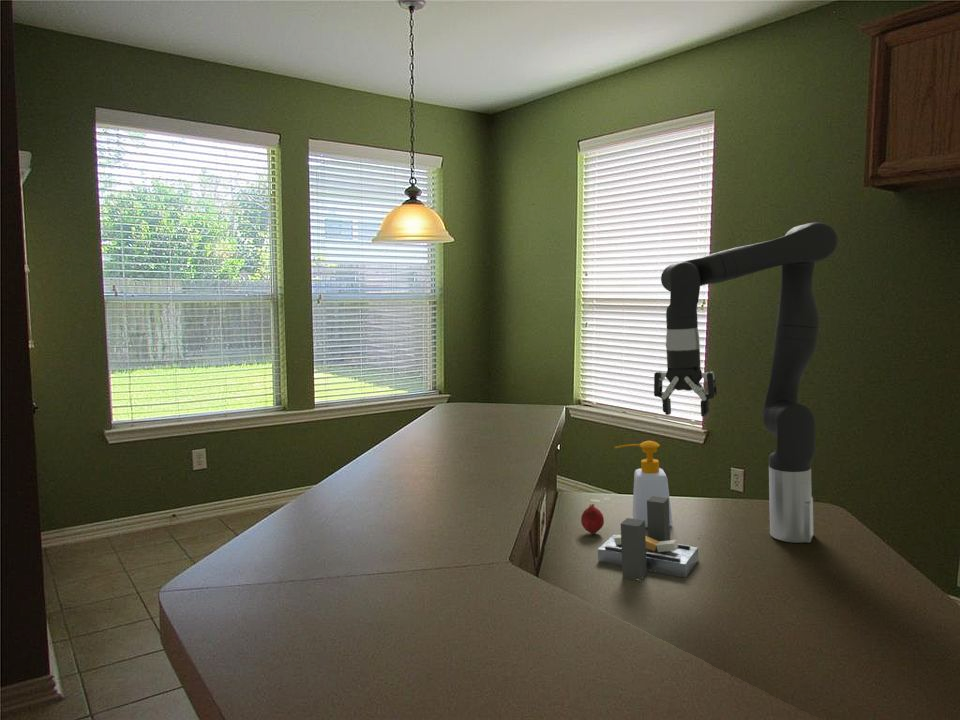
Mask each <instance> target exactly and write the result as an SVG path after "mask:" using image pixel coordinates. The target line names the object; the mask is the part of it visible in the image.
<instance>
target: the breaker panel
mask: <svg viewBox="0 0 960 720" xmlns="http://www.w3.org/2000/svg"><path fill="white" fill-rule="evenodd" d="M617 535H621V533H620V534H619V533H618V534H613V535H611V537H609V538H608V539H607V540H606V541H605V542H604V543H603V544H602V545H600V546H599V547H598V548H597V560H598V561H597V562H598V563H605V564H608V565H609V564H610V565H614V566H615V565H616V566H620V567H622V547H621V545H616V544H615V540H614V538H615V537H616V536H617ZM657 541H659V540H657ZM677 544H678V548H677V549H676V550H675V551H664V552H658V550H657V549H656V550H655V551H652V550H650V549H648V548H646V564H647V570H651V571H650V572H652V571H656V572H655V573H658V572H659V573H658V574H663V575H664V574H665V575H668V576H669V575H670V576H675V577H681V578H687V577H688V576H689V574H690V573H691V571H693V568H694V567H695V566H696V564H697V563H698V561H699V552H698V551H699V550H698V549H699V547H695V546H691V545H690V544H683V543H678V542H677Z"/></svg>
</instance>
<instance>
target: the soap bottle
mask: <svg viewBox="0 0 960 720" xmlns="http://www.w3.org/2000/svg"><path fill="white" fill-rule="evenodd" d="M660 446H661V445H660V443H658V442H657V441H654V440H646V441H642V442H640V443H635V444H634V443H631V444H628V443H627V444H622V445H619V446H614V449H621V448H626V447H639V448H641V452H643V453H645V454H646V458H643V459H641V460H640V463H641V465H640V466H641V467H640V468H637V469H635V470H634V475H633V476H634V477H633V495H632V496H633V497H632V499H633V501H632V517H633V518H632V519H638V520H645V528H648V520H647V500H648V499H649V498H651V497H652V496H656V497H665V498H669V522H670V527H672V524H673V514H672V507H671V506H672V505H671V498H670V490H669V481H668V477H667V475H666V473H665V471H664V469H663V468H661V467H660V461H659V460H658V459H655V458H654V455H653V454H654V453H657V452H658V448H659V447H660Z"/></svg>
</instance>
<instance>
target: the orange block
mask: <svg viewBox="0 0 960 720" xmlns="http://www.w3.org/2000/svg"><path fill="white" fill-rule="evenodd" d="M645 537H646V548H648V549H650V550H652V551H655V550H656V549H657V546H656V545H657V544H658V543H659V541H657V540H655V539H652V538H650V537H648V535H645Z"/></svg>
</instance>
